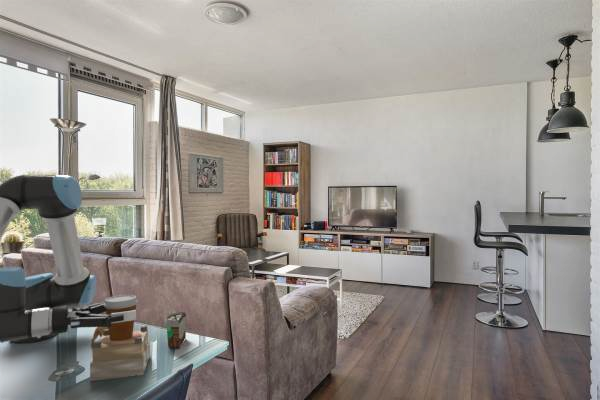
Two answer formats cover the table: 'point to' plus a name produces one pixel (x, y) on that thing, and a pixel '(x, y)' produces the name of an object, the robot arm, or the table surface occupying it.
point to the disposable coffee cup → (120, 305)
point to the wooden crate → (120, 356)
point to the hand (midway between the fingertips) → (133, 309)
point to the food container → (176, 329)
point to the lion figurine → (98, 333)
